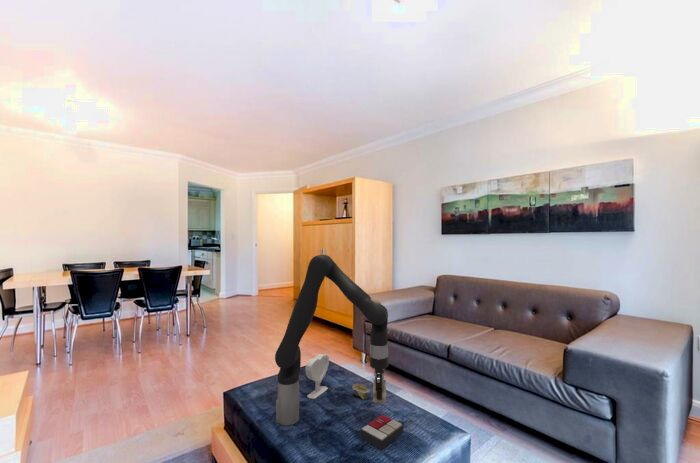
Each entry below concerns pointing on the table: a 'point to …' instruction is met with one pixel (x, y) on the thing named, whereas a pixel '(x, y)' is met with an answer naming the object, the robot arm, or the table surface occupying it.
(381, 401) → the maple block
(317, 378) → the heart sculpture
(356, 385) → the olive plastic tub
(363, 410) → the table surface
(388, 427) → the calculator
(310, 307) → the robot arm
